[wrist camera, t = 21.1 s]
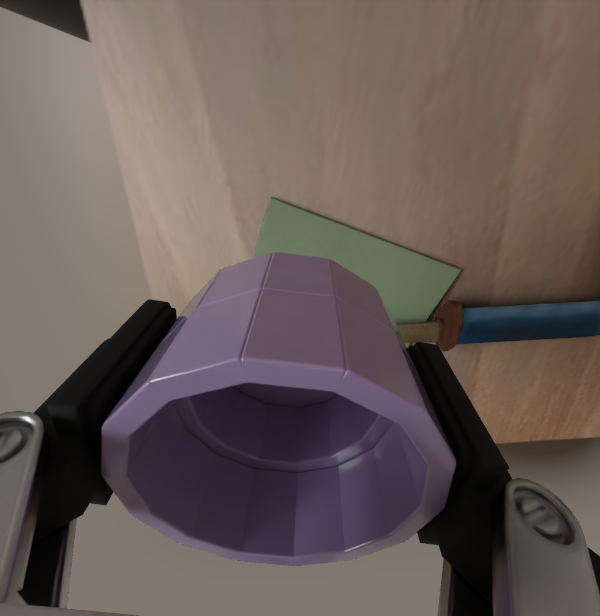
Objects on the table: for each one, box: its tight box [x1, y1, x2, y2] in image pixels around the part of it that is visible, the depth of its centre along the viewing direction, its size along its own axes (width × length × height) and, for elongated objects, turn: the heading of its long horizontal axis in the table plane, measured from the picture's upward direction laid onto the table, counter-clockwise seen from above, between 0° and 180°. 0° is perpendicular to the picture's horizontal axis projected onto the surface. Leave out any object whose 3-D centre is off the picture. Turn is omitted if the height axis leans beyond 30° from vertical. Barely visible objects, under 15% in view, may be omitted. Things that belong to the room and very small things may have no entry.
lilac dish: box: [101, 252, 456, 566], centre depth 8 cm, size 7×7×5 cm
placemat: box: [252, 197, 461, 347], centre depth 28 cm, size 16×20×1 cm
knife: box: [396, 301, 600, 351], centre depth 25 cm, size 24×3×5 cm
